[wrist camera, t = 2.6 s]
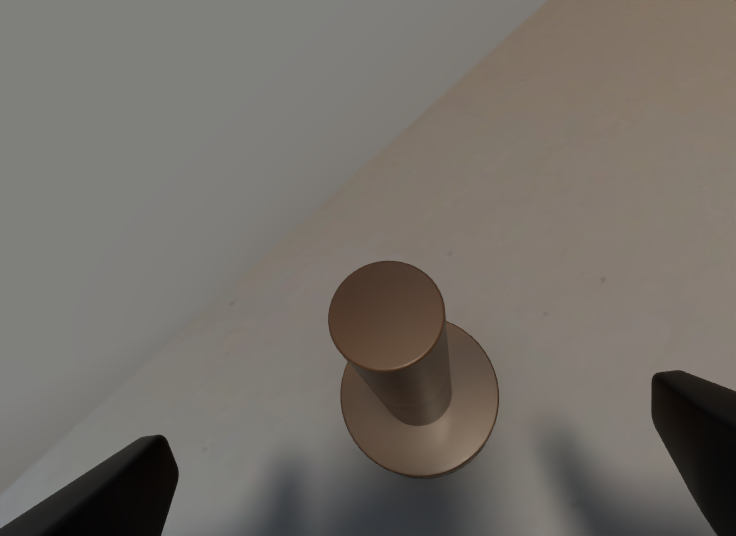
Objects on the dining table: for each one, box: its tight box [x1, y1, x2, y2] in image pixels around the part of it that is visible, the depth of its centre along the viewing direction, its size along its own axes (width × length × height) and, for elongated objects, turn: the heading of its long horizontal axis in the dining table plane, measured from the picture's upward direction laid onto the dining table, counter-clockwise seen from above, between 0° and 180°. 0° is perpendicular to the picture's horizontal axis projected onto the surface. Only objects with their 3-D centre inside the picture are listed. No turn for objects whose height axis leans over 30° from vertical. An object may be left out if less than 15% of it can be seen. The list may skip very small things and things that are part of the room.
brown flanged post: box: [328, 261, 499, 478], centre depth 14 cm, size 6×6×10 cm
